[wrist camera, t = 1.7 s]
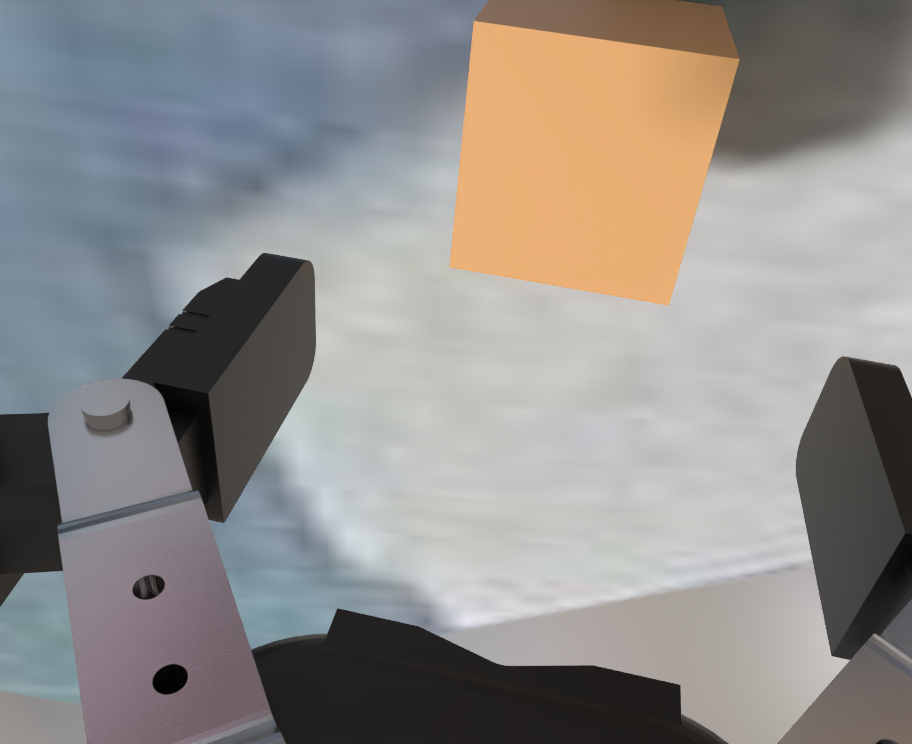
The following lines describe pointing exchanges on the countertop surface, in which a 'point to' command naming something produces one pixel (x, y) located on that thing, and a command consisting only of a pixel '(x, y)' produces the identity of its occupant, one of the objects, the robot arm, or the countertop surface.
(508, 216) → the plug
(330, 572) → the countertop surface
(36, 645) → the countertop surface
